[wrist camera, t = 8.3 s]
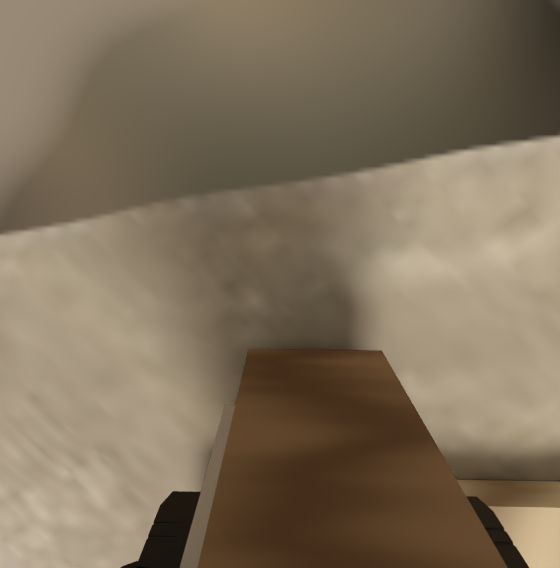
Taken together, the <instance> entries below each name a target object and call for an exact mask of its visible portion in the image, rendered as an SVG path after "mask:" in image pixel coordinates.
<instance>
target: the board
mask: <svg viewBox="0 0 560 568" xmlns="http://www.w3.org/2000/svg"><path fill="white" fill-rule="evenodd" d="M457 481H458V483H459V485H460V487H461V488H462V490H463V492H464V493H465V495H466V496H477V497H478V498H479V499H480V500H481V501H482V502H484V503H485V504H486V505H487V506H488V507H489V508H490V509H491V510H493V511H494V513H495V515H496V516H497V518H498V519H499V521H500V522H501V524H502V526H503V527H504V531H506V532H507V533H508V535H509V537H510V538H511V540H512V541H513V545H514V546H516V548H517V549H518V551H519V552H520V554H521V555H522V557H523V559H524V560H525V562H526V563H527V565H528V566H529V568H560V481H508V480H457Z"/></svg>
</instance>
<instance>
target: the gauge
mask: <svg viewBox="0 0 560 568" xmlns="http://www.w3.org/2000/svg"><path fill="white" fill-rule="evenodd" d="M197 568H507V566H506V564H505V562H504V561H503V559H502V557H501V555H500V554H499V552H498V550H497V549H496V547H495V545H494V543H493V542H492V540H491V538H490V537H489V535H488V533H487V531H486V530H485V528H484V526H483V524H482V523H481V521H480V519H479V518H478V516H477V514H476V512H475V511H474V509H473V507H472V505H471V504H470V502H469V500H468V499H467V497H466V495H465V493H464V492H463V490H462V488H461V487H460V485H459V483H458V481H457V480H456V478H455V476H454V474H453V473H452V471H451V469H450V468H449V466H448V464H447V462H446V461H445V459H444V457H443V456H442V454H441V452H440V450H439V449H438V447H437V445H436V443H435V442H434V440H433V438H432V437H431V435H430V433H429V431H428V430H427V428H426V426H425V424H424V423H423V421H422V419H421V418H420V416H419V414H418V412H417V411H416V409H415V407H414V406H413V404H412V402H411V400H410V399H409V397H408V395H407V393H406V392H405V390H404V388H403V387H402V385H401V383H400V381H399V380H398V378H397V376H396V375H395V373H394V371H393V369H392V368H391V366H390V364H389V362H388V361H387V359H386V357H385V356H384V354H383V352H382V351H370V350H307V349H248V353H247V358H246V362H245V366H244V370H243V375H242V379H241V383H240V387H239V392H238V396H237V400H236V405H235V409H234V413H233V417H232V422H231V426H230V430H229V435H228V439H227V443H226V447H225V452H224V456H223V460H222V465H221V469H220V473H219V477H218V482H217V486H216V490H215V495H214V499H213V503H212V507H211V512H210V516H209V520H208V525H207V529H206V533H205V537H204V542H203V546H202V550H201V554H200V559H199V563H198V567H197Z"/></svg>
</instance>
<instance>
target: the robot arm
mask: <svg viewBox="0 0 560 568" xmlns="http://www.w3.org/2000/svg"><path fill="white" fill-rule="evenodd" d="M234 409H235V406H233V405H225V407H224V411H223V414H222V418H221V421H220V425H219V429H218V432H217V436H216V439H215V443H214V447H213V450H212V454H211V457H210V461H209V464H208V468H207V472H206V475H205V479H204V482H203V486H202V489H201V492H178V491H173V492H172V493H171V494H170V495H169V496H168V497H167V499H166V500H165V501H164V502H163V503H162V504H161V505H160V507H159V510H158V512H157V515H156V517H155V520H154V524H153V525H152V528H151V530H150V533H149V535H148V539H147V540H146V543H145V545H144V548H143V550H142V553H141V555H140V558H139V560H138V561H136V562H133V563H130V564H127V565H125V566H122V567H121V568H197V567H198V563H199V559H200V554H201V550H202V546H203V542H204V537H205V533H206V529H207V525H208V520H209V516H210V512H211V507H212V503H213V499H214V495H215V490H216V486H217V482H218V477H219V473H220V469H221V465H222V460H223V456H224V452H225V447H226V443H227V439H228V435H229V430H230V426H231V422H232V417H233V413H234ZM466 497H467V499H468V500H469V502H470V504H471V505H472V507H473V509H474V511H475V512H476V514H477V516H478V518H479V519H480V521H481V523H482V524H483V526H484V528H485V530H486V531H487V533H488V535H489V537H490V538H491V540H492V542H493V543H494V545H495V547H496V549H497V550H498V552H499V554H500V555H501V557H502V559H503V561H504V562H505V564H506V566H507V568H529V566H528V565H527V563H526V562H525V560H524V559H523V557H522V555H521V554H520V552H519V551H518V549H517V548H516V546H514V545H513V541H512V540H511V538H510V537H509V535H508V533H507V532H506V531H504V527H503V526H502V524H501V522H500V521H499V519H498V518H497V516H496V515H495V513H494V511H493V510H491V509H490V508H489V507H488V506H487V505H486V504H485V503H484V502H482V501H481V500H480V499H479V498H478V497H477V496H466Z"/></svg>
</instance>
